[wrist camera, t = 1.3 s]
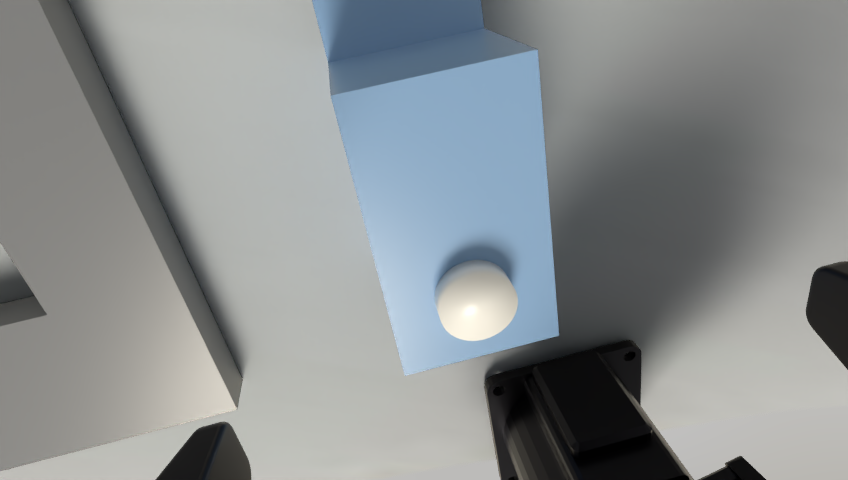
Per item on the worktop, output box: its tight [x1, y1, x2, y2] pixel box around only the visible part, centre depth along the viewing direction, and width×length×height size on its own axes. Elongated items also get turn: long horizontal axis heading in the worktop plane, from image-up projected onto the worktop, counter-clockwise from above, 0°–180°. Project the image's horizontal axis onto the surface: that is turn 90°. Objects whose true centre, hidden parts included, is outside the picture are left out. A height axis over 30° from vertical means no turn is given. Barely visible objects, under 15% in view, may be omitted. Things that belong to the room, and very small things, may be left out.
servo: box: [312, 0, 559, 376], centre depth 14 cm, size 4×11×7 cm, turn 11°
